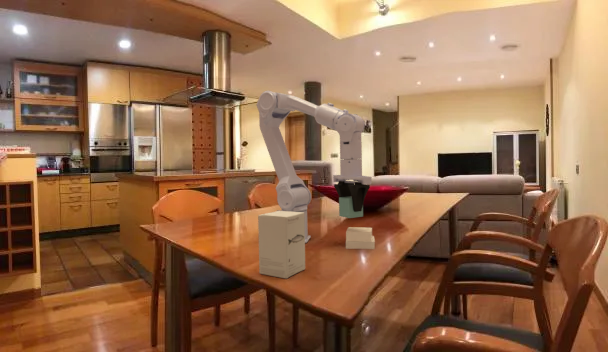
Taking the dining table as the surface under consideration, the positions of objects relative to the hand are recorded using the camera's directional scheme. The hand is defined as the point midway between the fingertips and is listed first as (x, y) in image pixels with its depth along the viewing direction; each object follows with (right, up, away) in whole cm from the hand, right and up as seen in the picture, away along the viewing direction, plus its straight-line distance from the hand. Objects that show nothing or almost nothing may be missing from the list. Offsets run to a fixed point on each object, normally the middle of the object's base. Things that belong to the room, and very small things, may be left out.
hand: (351, 210), depth 100 cm
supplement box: (-17, -12, -20) cm, 29 cm away
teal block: (0, -2, 0) cm, 2 cm away
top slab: (+2, -8, +2) cm, 8 cm away
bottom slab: (+3, -10, +2) cm, 11 cm away
